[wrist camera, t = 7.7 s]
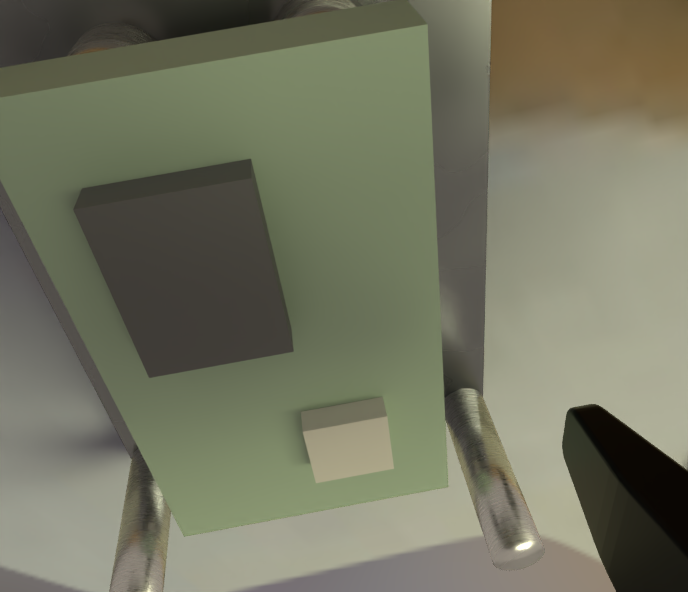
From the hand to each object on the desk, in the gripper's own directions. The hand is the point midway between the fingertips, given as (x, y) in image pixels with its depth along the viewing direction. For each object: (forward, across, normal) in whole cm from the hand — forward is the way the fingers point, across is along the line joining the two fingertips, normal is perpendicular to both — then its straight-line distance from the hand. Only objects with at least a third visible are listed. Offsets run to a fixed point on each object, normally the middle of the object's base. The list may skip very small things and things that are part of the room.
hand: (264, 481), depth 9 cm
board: (+4, 0, 0) cm, 4 cm away
